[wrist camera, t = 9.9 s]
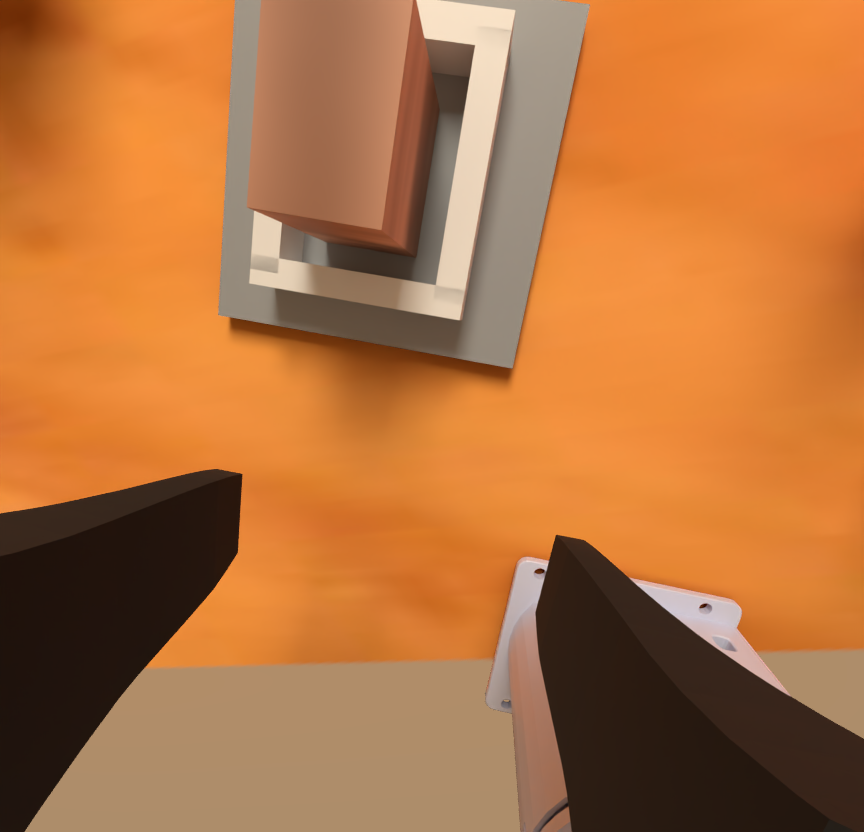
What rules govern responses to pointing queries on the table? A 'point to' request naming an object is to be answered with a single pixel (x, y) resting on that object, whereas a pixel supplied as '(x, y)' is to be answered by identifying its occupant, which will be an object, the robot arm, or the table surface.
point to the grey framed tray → (445, 199)
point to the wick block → (343, 121)
